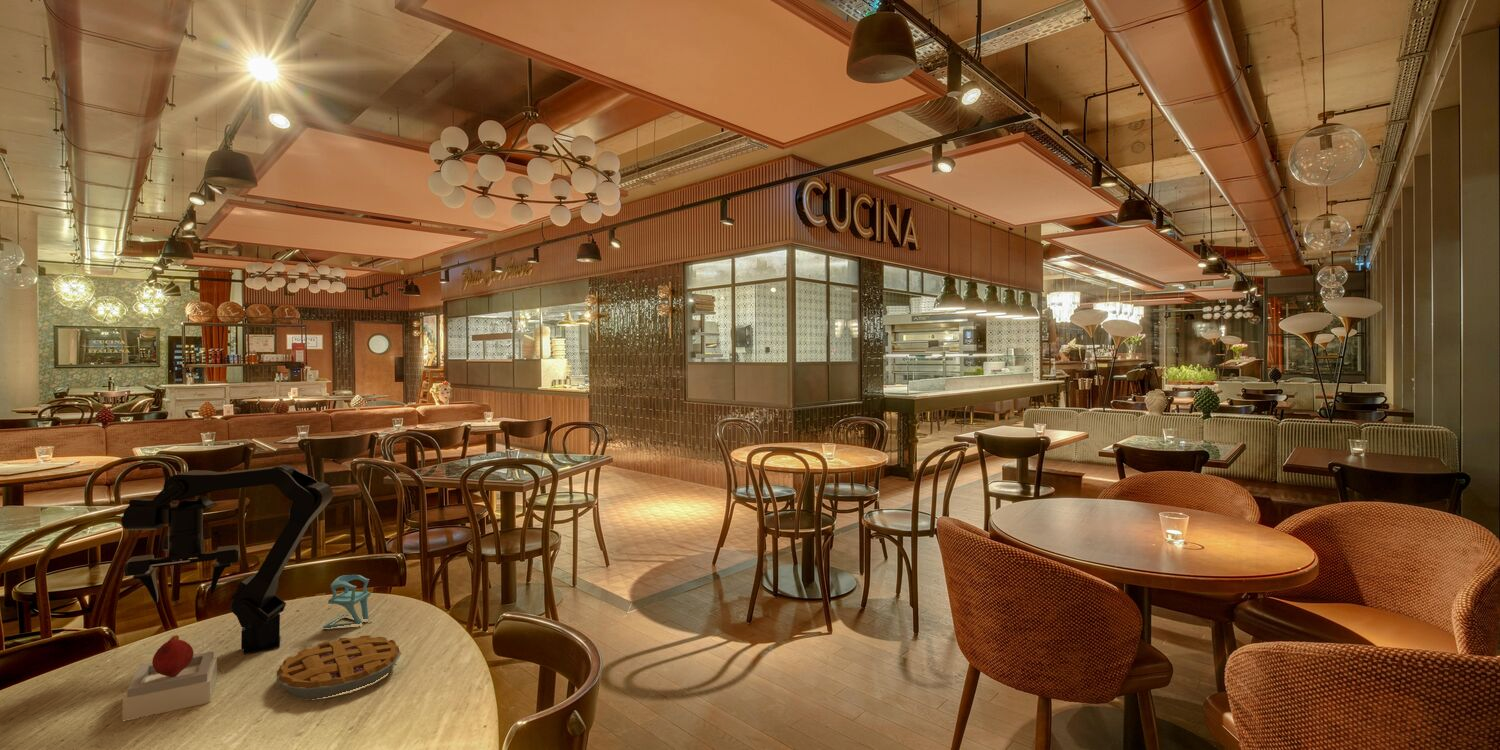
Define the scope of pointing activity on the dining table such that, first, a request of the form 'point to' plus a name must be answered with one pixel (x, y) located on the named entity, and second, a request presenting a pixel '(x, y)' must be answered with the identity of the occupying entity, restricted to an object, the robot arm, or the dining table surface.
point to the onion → (172, 657)
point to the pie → (337, 666)
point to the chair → (349, 598)
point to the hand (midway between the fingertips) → (184, 598)
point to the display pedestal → (170, 688)
